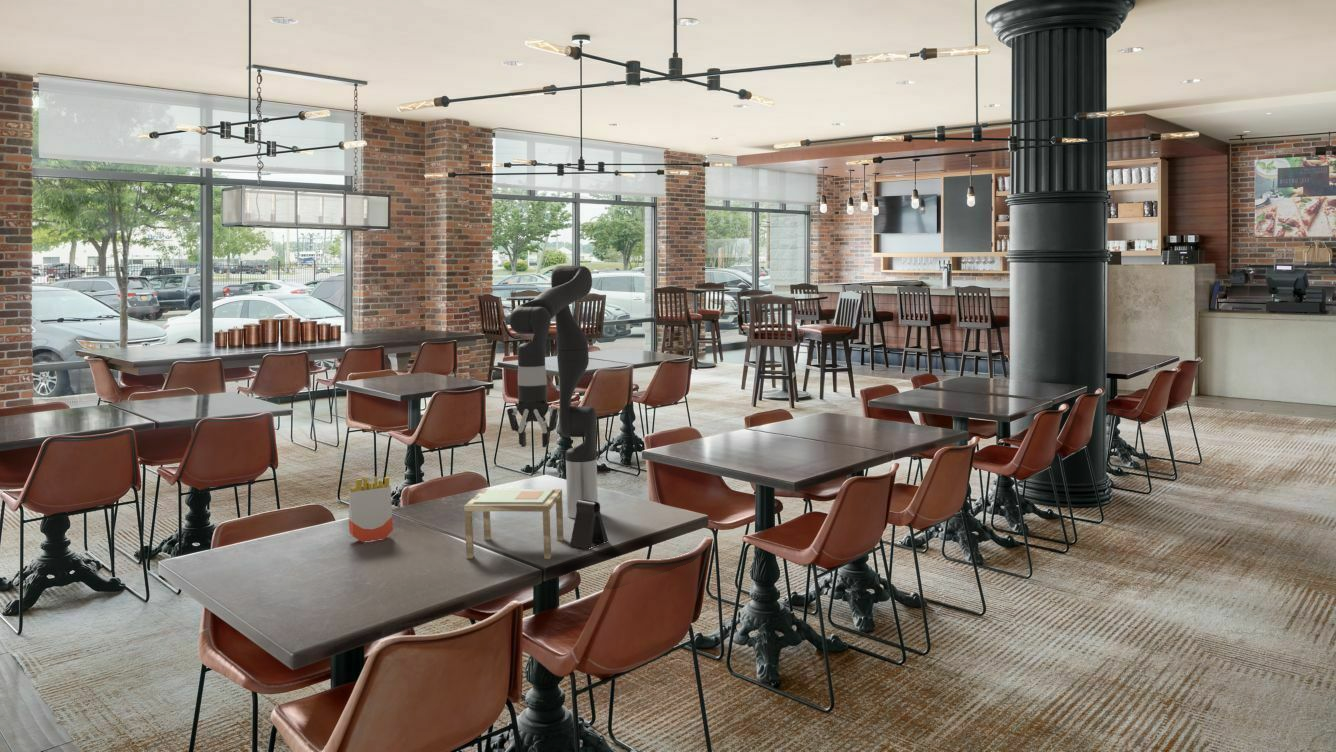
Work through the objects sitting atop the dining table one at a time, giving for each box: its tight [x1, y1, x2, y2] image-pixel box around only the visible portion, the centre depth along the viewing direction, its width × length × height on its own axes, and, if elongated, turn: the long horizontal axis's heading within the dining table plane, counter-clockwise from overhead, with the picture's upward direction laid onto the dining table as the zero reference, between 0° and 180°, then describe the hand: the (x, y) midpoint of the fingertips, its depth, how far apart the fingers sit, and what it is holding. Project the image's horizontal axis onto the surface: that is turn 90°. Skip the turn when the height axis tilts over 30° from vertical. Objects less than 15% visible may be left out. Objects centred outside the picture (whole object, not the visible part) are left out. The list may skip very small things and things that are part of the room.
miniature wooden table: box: [463, 488, 564, 560], centre depth 252 cm, size 18×22×14 cm
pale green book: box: [474, 488, 553, 504], centre depth 251 cm, size 14×18×2 cm
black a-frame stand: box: [569, 500, 609, 550], centre depth 254 cm, size 9×6×12 cm, turn 144°
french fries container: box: [348, 476, 394, 543], centre depth 262 cm, size 5×11×18 cm, turn 121°
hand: (534, 446), depth 249 cm, fingers open, 5 cm apart
